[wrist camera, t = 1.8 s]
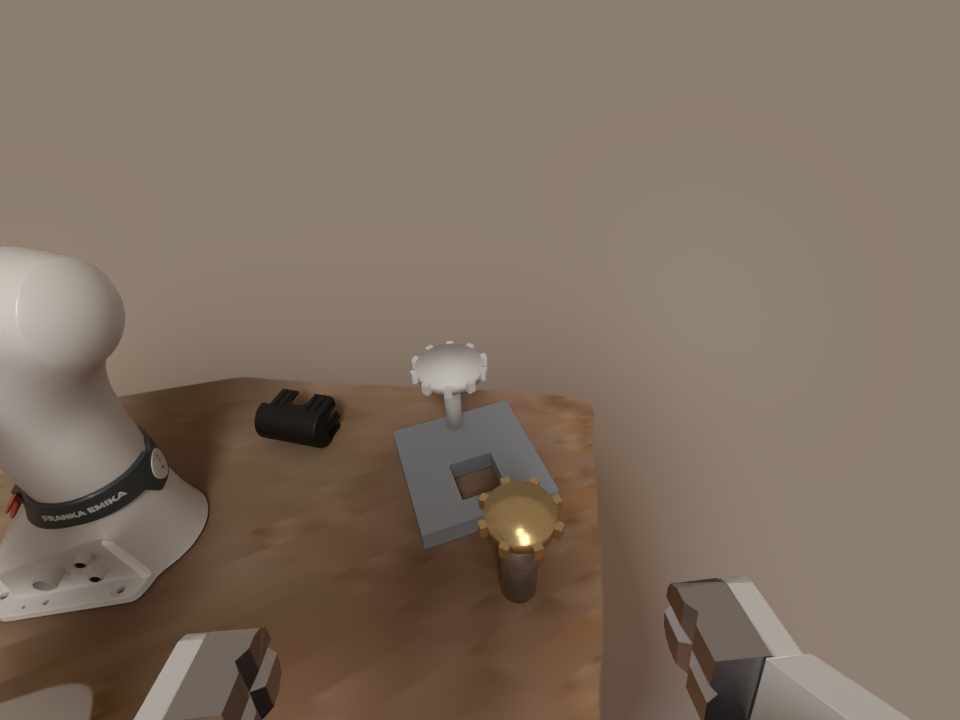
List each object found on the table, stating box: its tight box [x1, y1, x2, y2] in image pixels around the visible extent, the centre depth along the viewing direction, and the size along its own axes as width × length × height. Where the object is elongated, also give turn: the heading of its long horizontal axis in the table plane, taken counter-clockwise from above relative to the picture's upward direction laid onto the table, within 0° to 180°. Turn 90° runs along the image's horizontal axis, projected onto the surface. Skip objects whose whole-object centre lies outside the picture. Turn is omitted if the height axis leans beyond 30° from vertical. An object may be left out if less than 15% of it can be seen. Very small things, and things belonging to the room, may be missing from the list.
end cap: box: [255, 389, 340, 448], centre depth 70 cm, size 10×7×7 cm
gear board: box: [393, 341, 559, 549], centre depth 62 cm, size 18×21×14 cm
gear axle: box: [477, 476, 565, 603], centre depth 49 cm, size 8×8×14 cm
